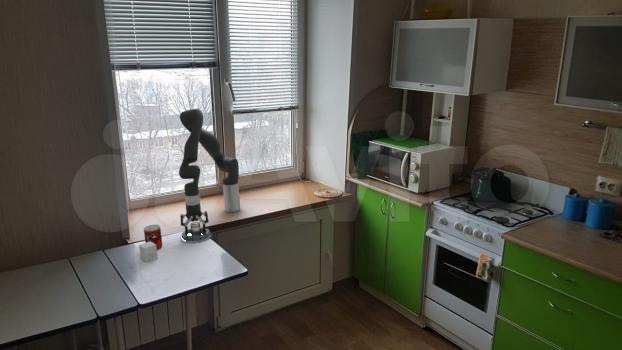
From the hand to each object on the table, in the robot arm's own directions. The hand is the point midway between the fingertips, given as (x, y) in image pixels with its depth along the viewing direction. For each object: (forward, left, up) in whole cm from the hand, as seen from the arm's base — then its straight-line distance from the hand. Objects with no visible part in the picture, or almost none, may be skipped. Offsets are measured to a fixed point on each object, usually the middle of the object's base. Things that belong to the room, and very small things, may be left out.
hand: (195, 231), depth 247 cm
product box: (+23, +20, -3) cm, 31 cm away
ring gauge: (0, 0, -3) cm, 3 cm away
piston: (0, 0, -3) cm, 3 cm away
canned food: (+21, +7, -3) cm, 22 cm away
